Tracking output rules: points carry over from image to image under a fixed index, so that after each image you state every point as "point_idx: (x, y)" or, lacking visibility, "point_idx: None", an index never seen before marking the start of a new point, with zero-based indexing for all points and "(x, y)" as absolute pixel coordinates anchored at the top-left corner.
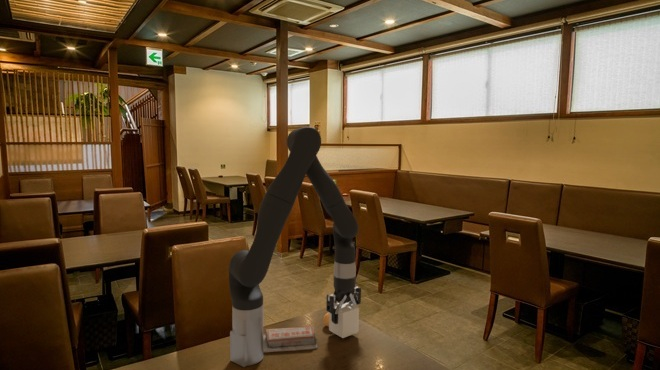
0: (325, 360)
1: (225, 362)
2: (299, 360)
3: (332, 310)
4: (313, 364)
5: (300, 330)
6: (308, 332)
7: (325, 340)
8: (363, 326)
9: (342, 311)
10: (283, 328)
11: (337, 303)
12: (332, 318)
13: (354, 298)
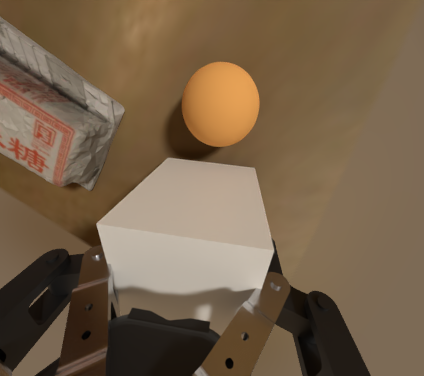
0: (90, 233)
1: None
2: (29, 193)
3: (59, 299)
4: (58, 225)
5: (6, 127)
6: (39, 163)
7: (138, 173)
8: (314, 202)
9: (130, 310)
10: None
11: (178, 241)
12: None
13: (314, 334)
